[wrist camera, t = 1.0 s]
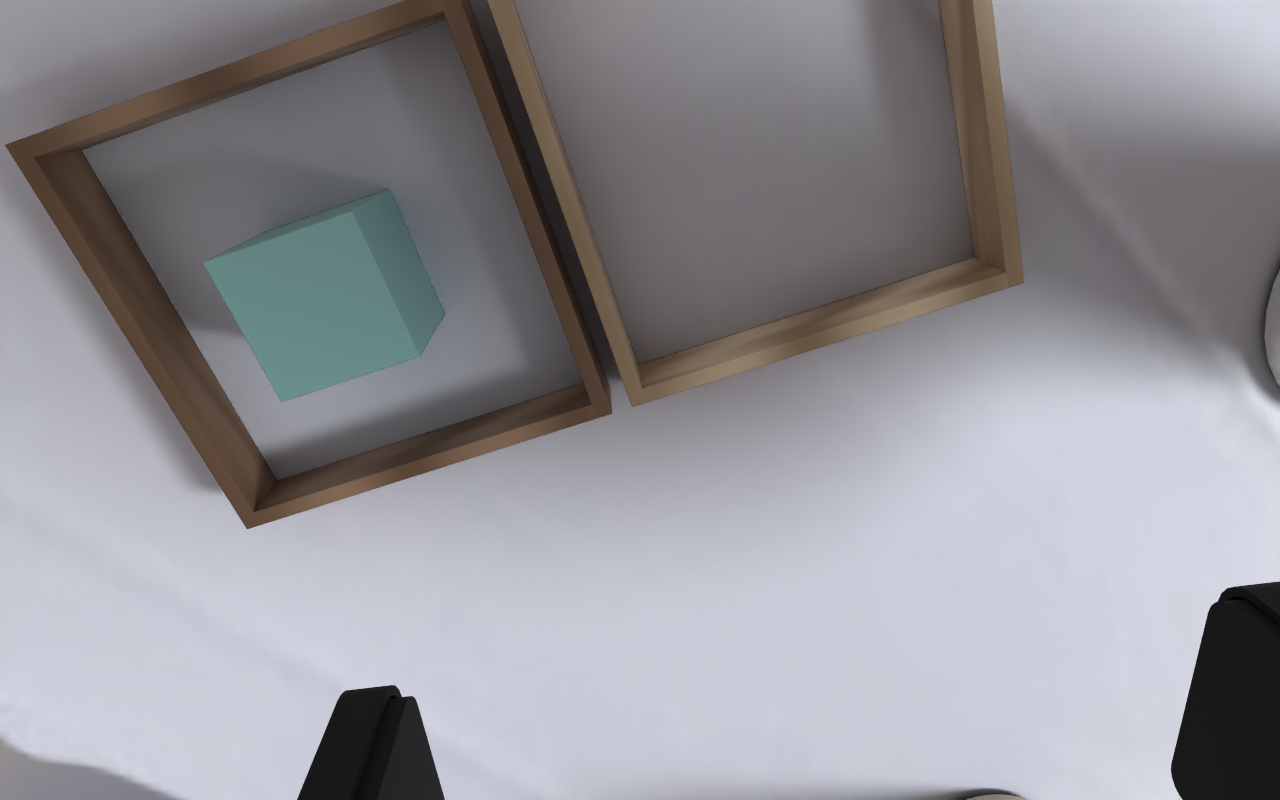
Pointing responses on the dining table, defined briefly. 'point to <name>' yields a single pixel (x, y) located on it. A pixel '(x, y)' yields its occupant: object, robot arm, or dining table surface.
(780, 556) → the dining table surface
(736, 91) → the dining table surface
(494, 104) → the walnut tray
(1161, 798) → the dining table surface
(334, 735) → the robot arm
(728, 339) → the oak tray
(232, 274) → the teal cube
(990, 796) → the travel mug
